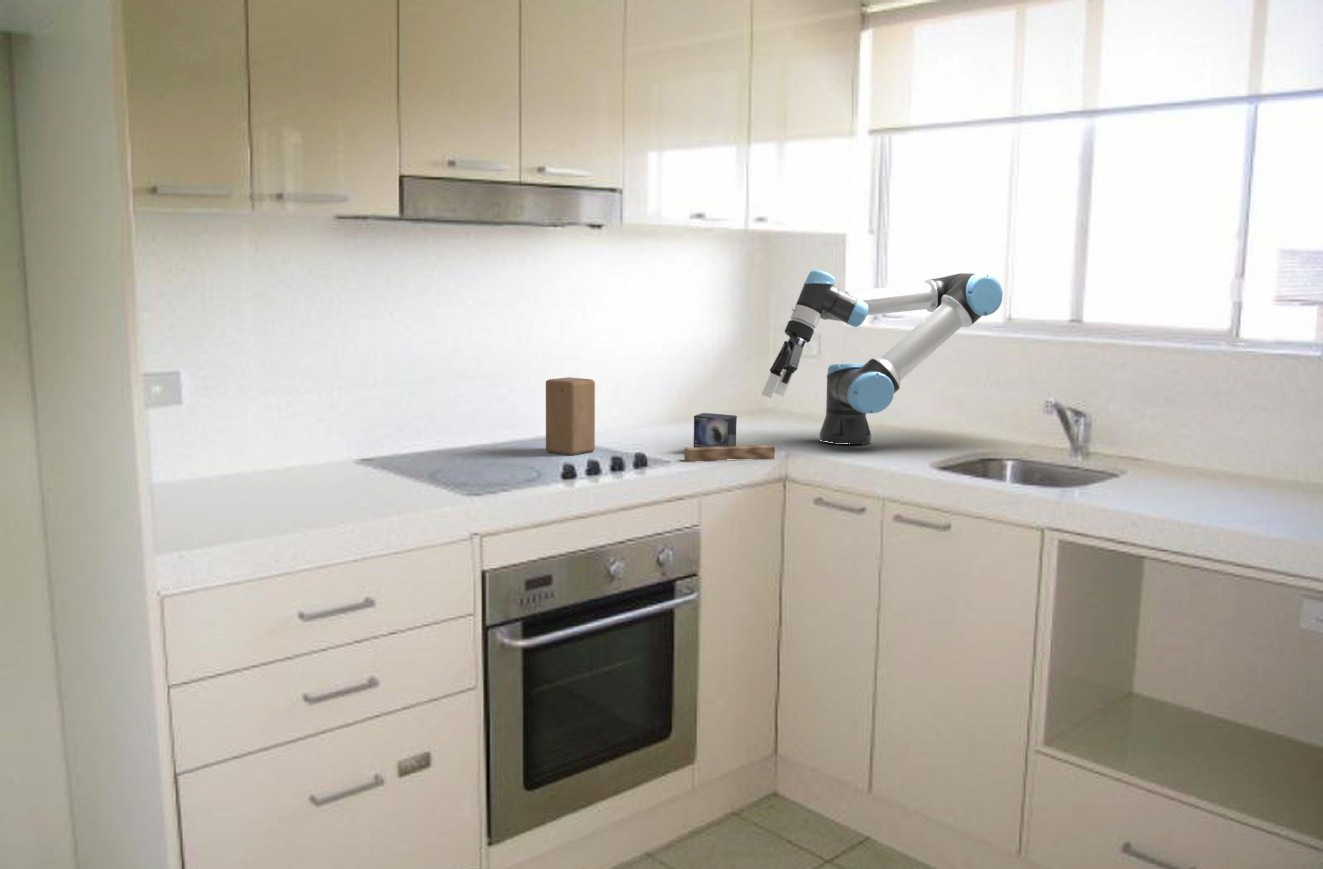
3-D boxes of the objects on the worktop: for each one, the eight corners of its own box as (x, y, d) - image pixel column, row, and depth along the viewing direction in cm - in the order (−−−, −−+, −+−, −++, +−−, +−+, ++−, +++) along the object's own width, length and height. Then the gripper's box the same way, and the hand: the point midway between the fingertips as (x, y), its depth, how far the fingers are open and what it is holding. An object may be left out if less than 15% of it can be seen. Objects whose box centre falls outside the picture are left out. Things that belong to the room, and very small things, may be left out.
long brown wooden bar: (768, 457, 299) (769, 444, 298) (774, 460, 295) (774, 447, 294) (684, 460, 292) (684, 447, 292) (688, 463, 288) (689, 450, 288)
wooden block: (571, 456, 295) (571, 381, 292) (544, 452, 301) (544, 379, 298) (596, 451, 303) (596, 379, 300) (569, 448, 309) (568, 376, 306)
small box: (692, 452, 303) (692, 415, 302) (702, 449, 309) (702, 412, 308) (727, 456, 298) (727, 417, 297) (736, 452, 304) (737, 415, 303)
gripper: (778, 323, 315) (749, 391, 314) (802, 314, 291) (771, 387, 289) (801, 334, 316) (773, 402, 315) (827, 325, 292) (796, 399, 290)
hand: (772, 395), depth 302 cm, fingers open, 13 cm apart
